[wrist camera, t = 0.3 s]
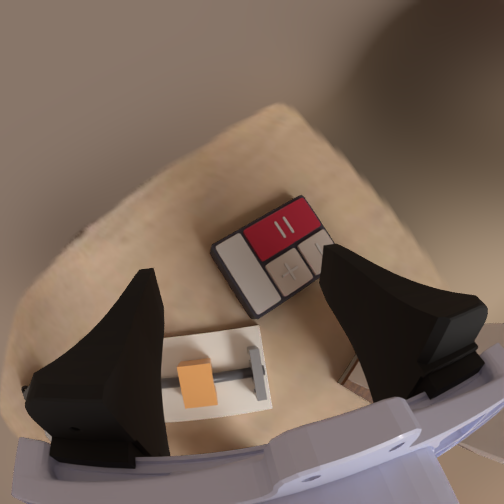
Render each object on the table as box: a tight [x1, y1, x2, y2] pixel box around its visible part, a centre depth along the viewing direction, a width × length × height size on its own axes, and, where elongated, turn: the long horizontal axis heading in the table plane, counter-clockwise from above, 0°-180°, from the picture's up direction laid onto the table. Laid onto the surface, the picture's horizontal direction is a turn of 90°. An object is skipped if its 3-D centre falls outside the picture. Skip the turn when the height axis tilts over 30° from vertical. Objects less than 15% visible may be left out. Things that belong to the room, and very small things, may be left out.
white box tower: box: [338, 323, 504, 464], centre depth 24 cm, size 11×11×35 cm
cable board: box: [161, 325, 272, 423], centre depth 35 cm, size 12×25×4 cm, turn 98°
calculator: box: [210, 195, 335, 319], centre depth 40 cm, size 11×4×15 cm
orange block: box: [177, 358, 218, 409], centre depth 34 cm, size 5×4×4 cm
